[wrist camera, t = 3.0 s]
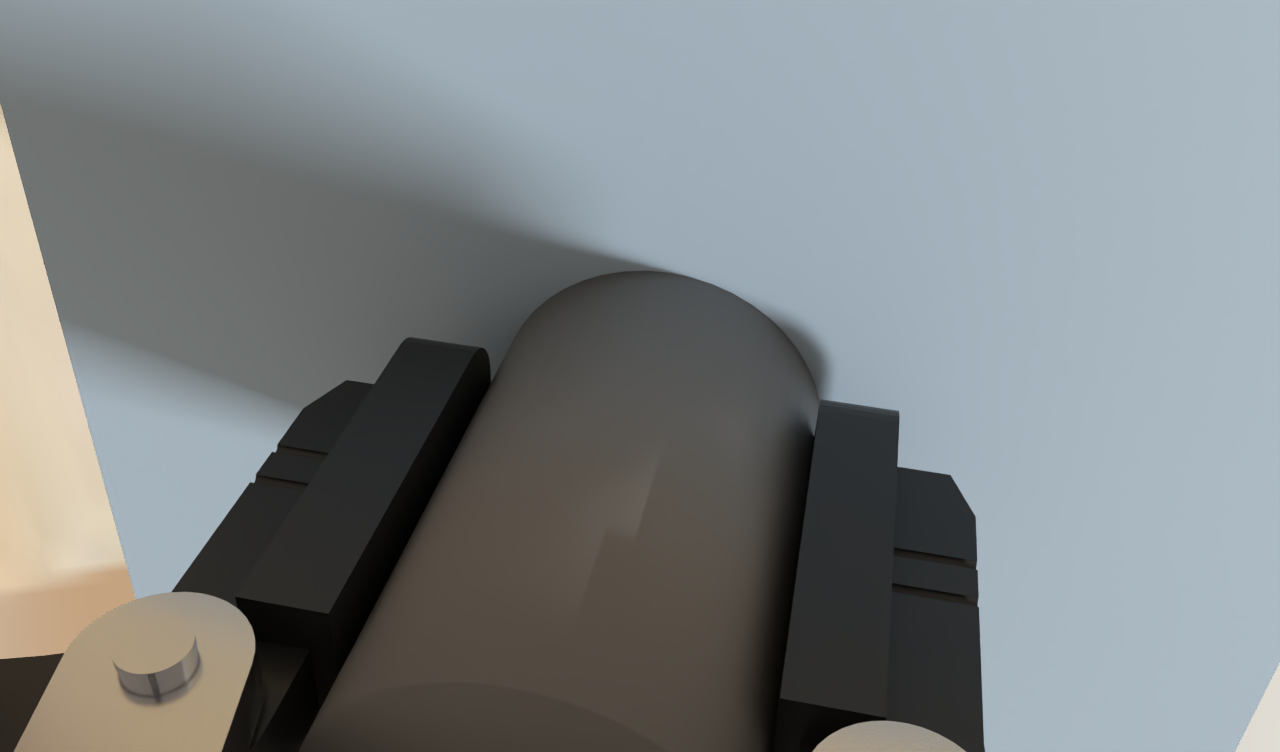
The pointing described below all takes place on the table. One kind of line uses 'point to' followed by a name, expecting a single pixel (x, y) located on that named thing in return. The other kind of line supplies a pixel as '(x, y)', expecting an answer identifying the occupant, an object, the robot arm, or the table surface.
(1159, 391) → the lid
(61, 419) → the table surface
